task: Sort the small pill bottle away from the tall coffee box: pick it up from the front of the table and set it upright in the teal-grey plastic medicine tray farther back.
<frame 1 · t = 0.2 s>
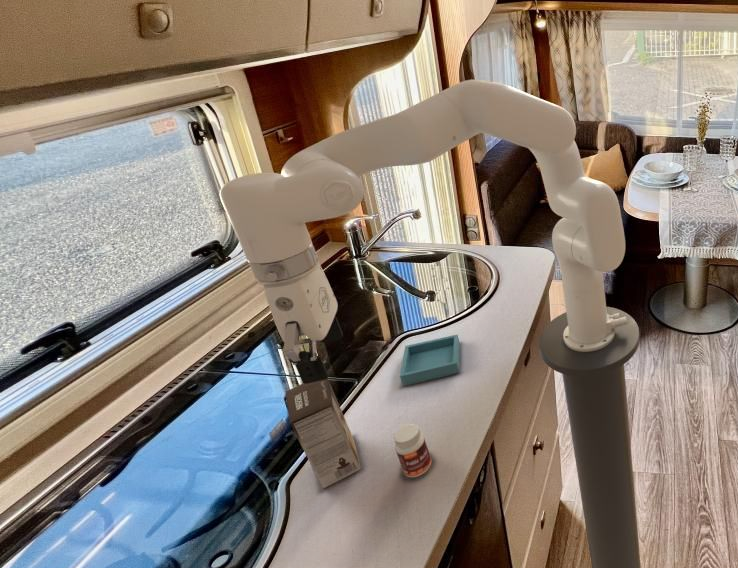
hand: (324, 358, 76), 26 cm above the worktop, tool pointing down, fingers open, 9 cm apart
pill bottle: (418, 467, 89), on the worktop
medicine tray: (433, 363, 113), on the worktop
coffee box: (339, 463, 90), on the worktop
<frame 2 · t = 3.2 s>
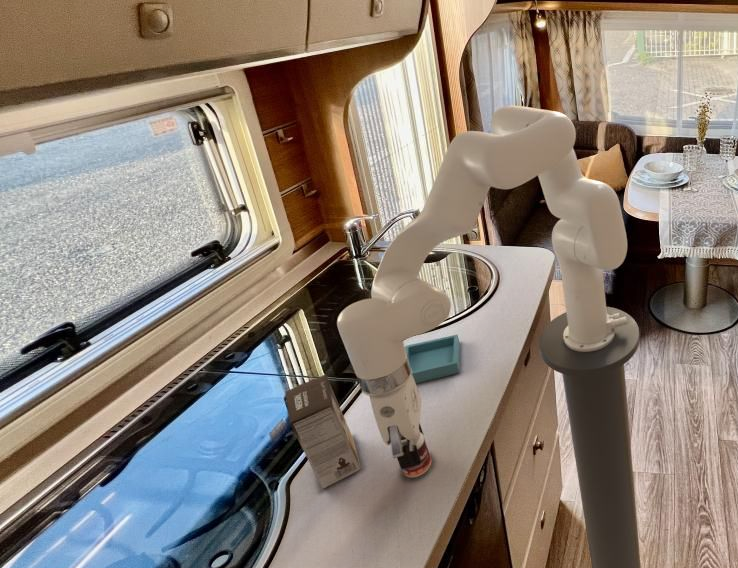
hand: (412, 451, 87), 4 cm above the worktop, tool pointing down, fingers closed on pill bottle, 4 cm apart
pill bottle: (418, 467, 89), on the worktop, touching gripper
everything else where it was.
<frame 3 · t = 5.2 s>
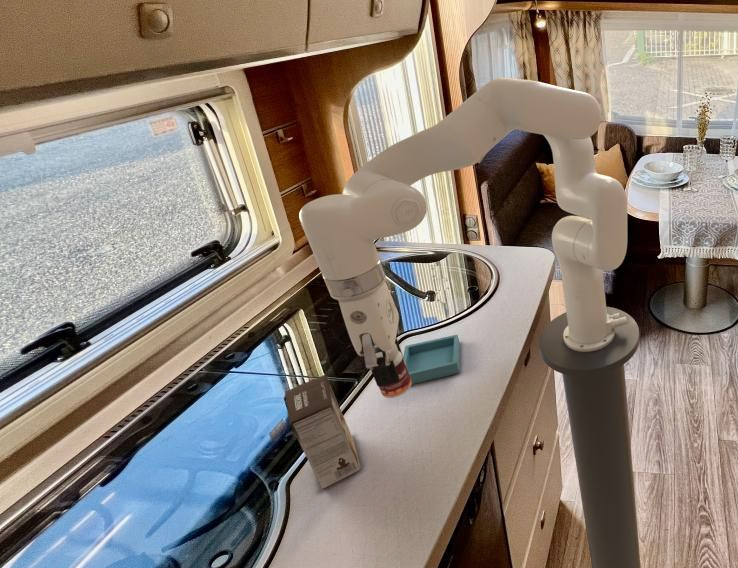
hand: (390, 370, 81), 21 cm above the worktop, tool pointing down, fingers closed on pill bottle, 4 cm apart
pill bottle: (397, 389, 83), point 17 cm above the worktop, touching gripper
everything else where it was.
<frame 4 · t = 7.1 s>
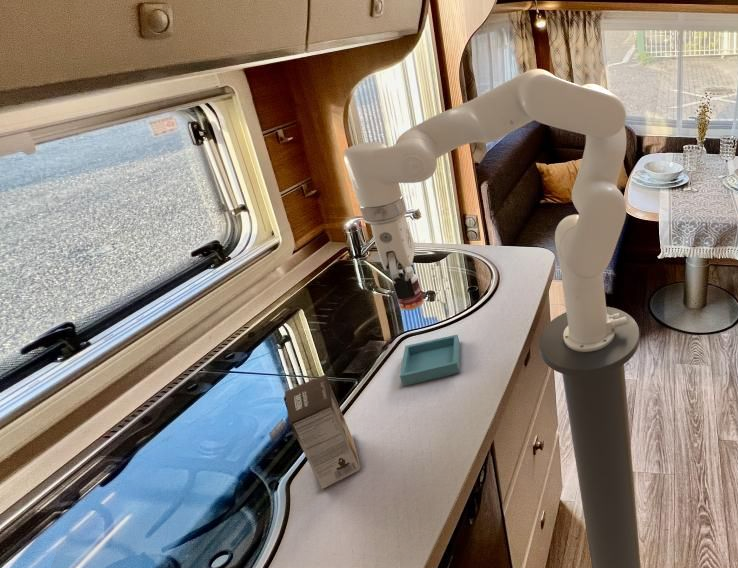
hand: (407, 289, 102), 22 cm above the worktop, tool pointing down, fingers closed on pill bottle, 4 cm apart
pill bottle: (412, 305, 103), point 18 cm above the worktop, touching gripper
everything else where it was.
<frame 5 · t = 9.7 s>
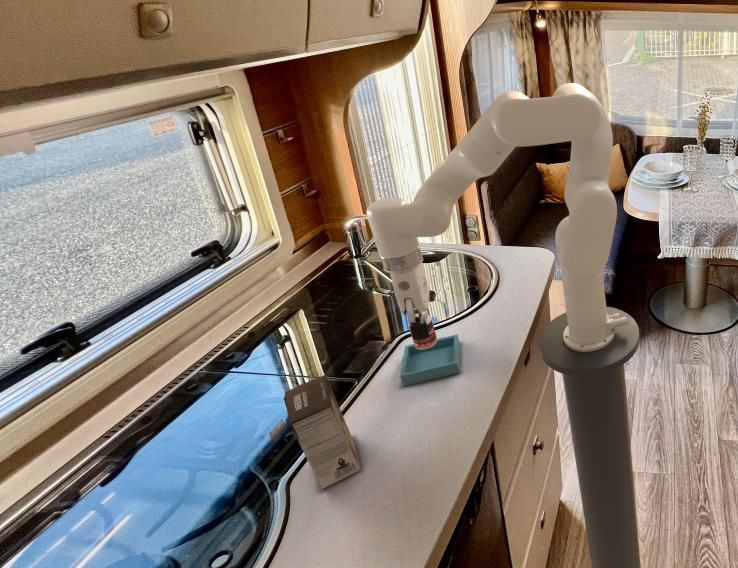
hand: (422, 329, 109), 10 cm above the worktop, tool pointing down, fingers closed on pill bottle, 4 cm apart
pill bottle: (426, 344, 111), point 6 cm above the worktop, touching gripper
everything else where it was.
when the fingers open (5 cm above the worktop, at t = 11.4 s): pill bottle stays where it is, resting on medicine tray.
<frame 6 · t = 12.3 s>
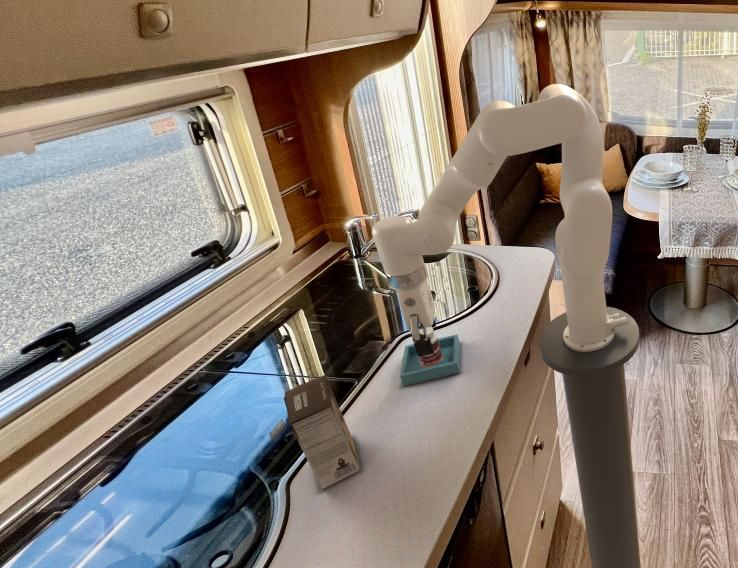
hand: (427, 340, 110), 7 cm above the worktop, tool pointing down, fingers open, 9 cm apart
pill bottle: (432, 361, 113), point 1 cm above the worktop, touching medicine tray
everything else where it was.
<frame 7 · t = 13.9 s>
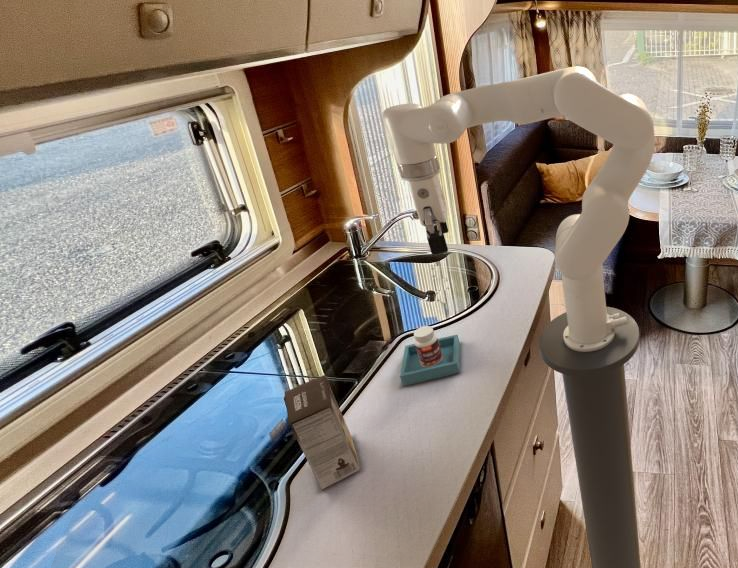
hand: (440, 242, 107), 27 cm above the worktop, tool pointing down, fingers open, 9 cm apart
nothing on the worktop moved.
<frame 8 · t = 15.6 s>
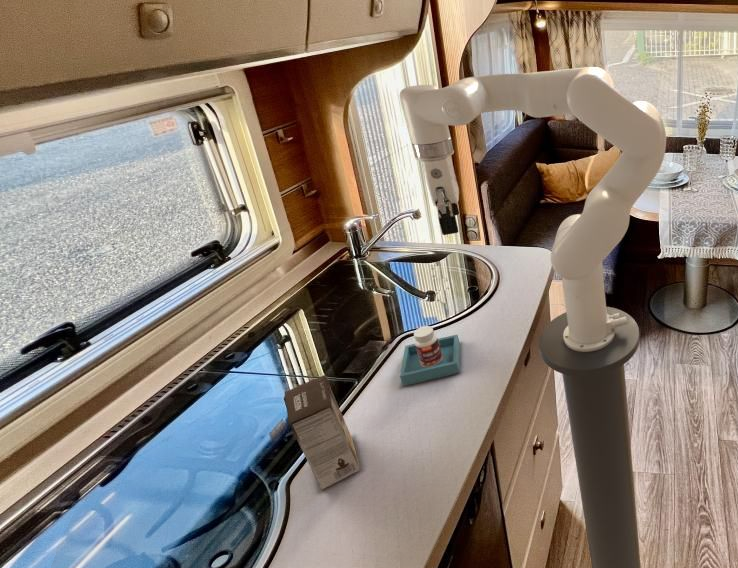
hand: (451, 224, 108), 30 cm above the worktop, tool pointing down, fingers open, 9 cm apart
nothing on the worktop moved.
at the end: pill bottle 0.0 cm off-centre in the medicine tray, point 0.6 cm above the medicine tray's base; pill bottle tilted 0°; coffee box moved 0.3 cm from its start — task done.
